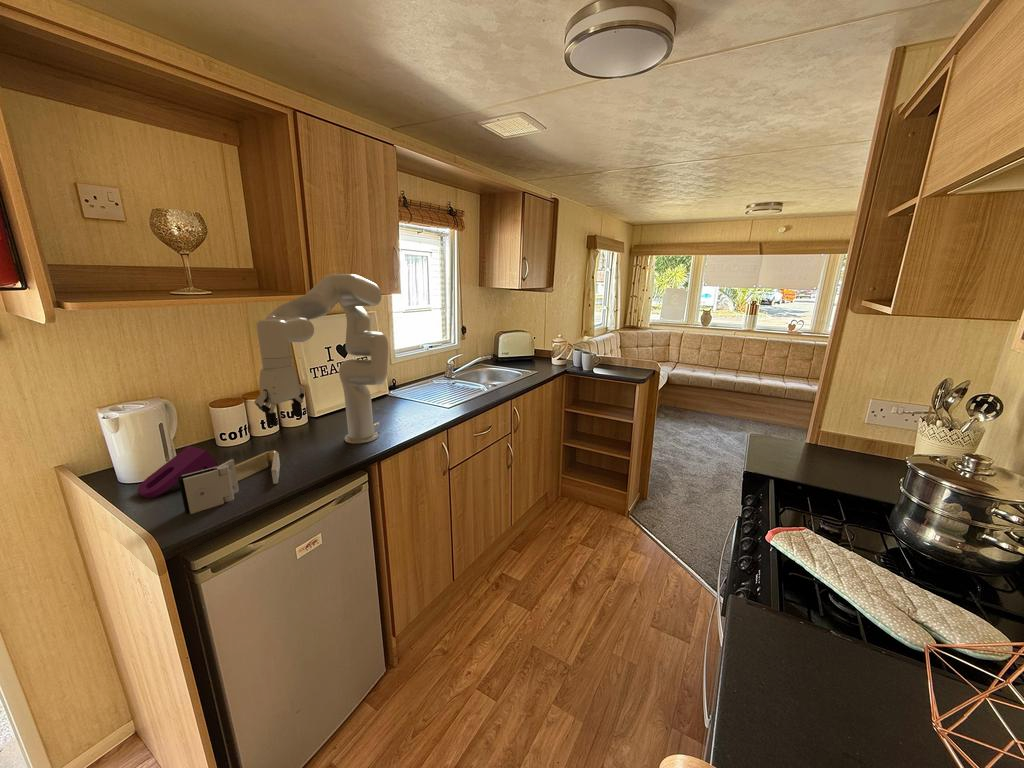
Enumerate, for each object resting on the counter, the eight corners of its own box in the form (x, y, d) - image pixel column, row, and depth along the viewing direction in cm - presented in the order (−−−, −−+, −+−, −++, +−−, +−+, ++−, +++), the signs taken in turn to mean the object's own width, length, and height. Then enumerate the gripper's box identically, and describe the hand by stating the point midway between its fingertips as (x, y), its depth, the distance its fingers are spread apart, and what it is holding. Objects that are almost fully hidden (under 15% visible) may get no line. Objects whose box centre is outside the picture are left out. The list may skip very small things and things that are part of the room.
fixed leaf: (273, 462, 140) (271, 449, 139) (280, 463, 139) (278, 450, 138) (223, 486, 124) (220, 471, 123) (230, 487, 123) (228, 472, 122)
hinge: (237, 490, 121) (232, 458, 119) (247, 494, 119) (242, 462, 116) (182, 511, 110) (175, 477, 107) (191, 517, 107) (184, 482, 105)
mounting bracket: (168, 515, 119) (223, 468, 132) (147, 497, 114) (206, 450, 127) (152, 507, 123) (206, 463, 136) (131, 490, 118) (189, 445, 131)
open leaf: (276, 465, 137) (274, 452, 136) (280, 464, 138) (278, 452, 137) (273, 483, 124) (271, 470, 123) (278, 483, 125) (275, 469, 124)
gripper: (291, 357, 126) (298, 411, 130) (239, 367, 110) (249, 428, 114) (311, 358, 124) (317, 413, 128) (260, 369, 108) (269, 431, 112)
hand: (285, 420), depth 121 cm, fingers open, 8 cm apart
